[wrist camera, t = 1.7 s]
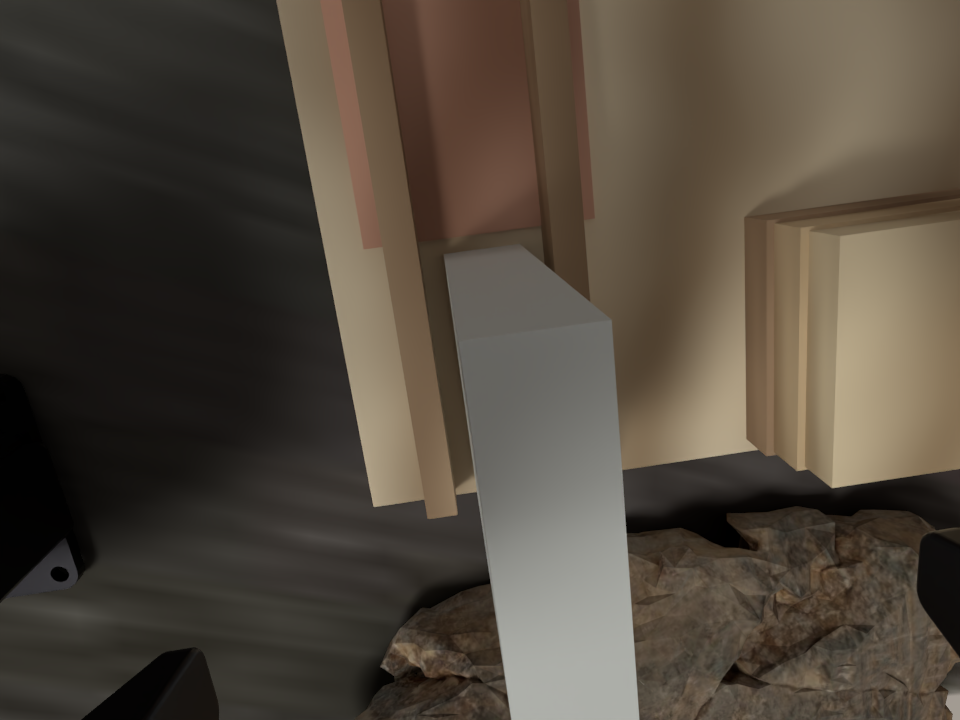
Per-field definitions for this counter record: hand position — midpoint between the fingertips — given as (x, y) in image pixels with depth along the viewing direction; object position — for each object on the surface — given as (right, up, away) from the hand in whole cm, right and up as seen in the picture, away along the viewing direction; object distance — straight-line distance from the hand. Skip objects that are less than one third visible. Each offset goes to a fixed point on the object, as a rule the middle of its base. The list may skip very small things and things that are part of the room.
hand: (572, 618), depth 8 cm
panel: (-1, +3, +10) cm, 10 cm away
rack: (+4, +7, +10) cm, 13 cm away
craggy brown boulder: (+4, -8, +15) cm, 17 cm away
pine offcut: (+9, +4, +8) cm, 13 cm away
